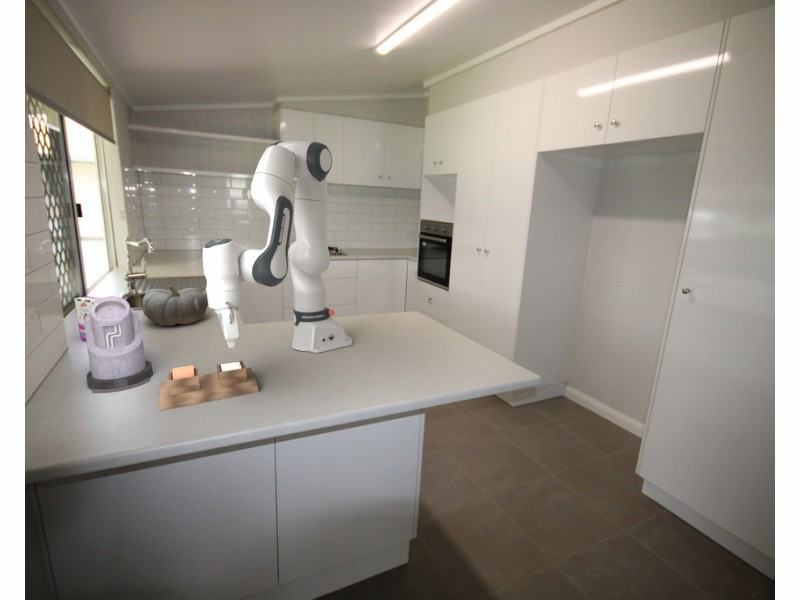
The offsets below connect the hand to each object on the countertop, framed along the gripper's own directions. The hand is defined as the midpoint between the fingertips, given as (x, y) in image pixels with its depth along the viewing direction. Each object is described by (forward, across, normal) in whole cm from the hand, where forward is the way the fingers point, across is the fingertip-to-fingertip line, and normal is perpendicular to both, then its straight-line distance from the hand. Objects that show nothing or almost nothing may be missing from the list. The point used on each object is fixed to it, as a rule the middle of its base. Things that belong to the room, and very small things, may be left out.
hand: (231, 345), depth 113 cm
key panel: (+12, 0, +7) cm, 14 cm away
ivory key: (+9, 0, +1) cm, 9 cm away
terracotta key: (+7, 0, +13) cm, 15 cm away
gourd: (+12, +78, +15) cm, 80 cm away
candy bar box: (+11, +63, +42) cm, 76 cm away
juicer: (+11, +25, +30) cm, 41 cm away
